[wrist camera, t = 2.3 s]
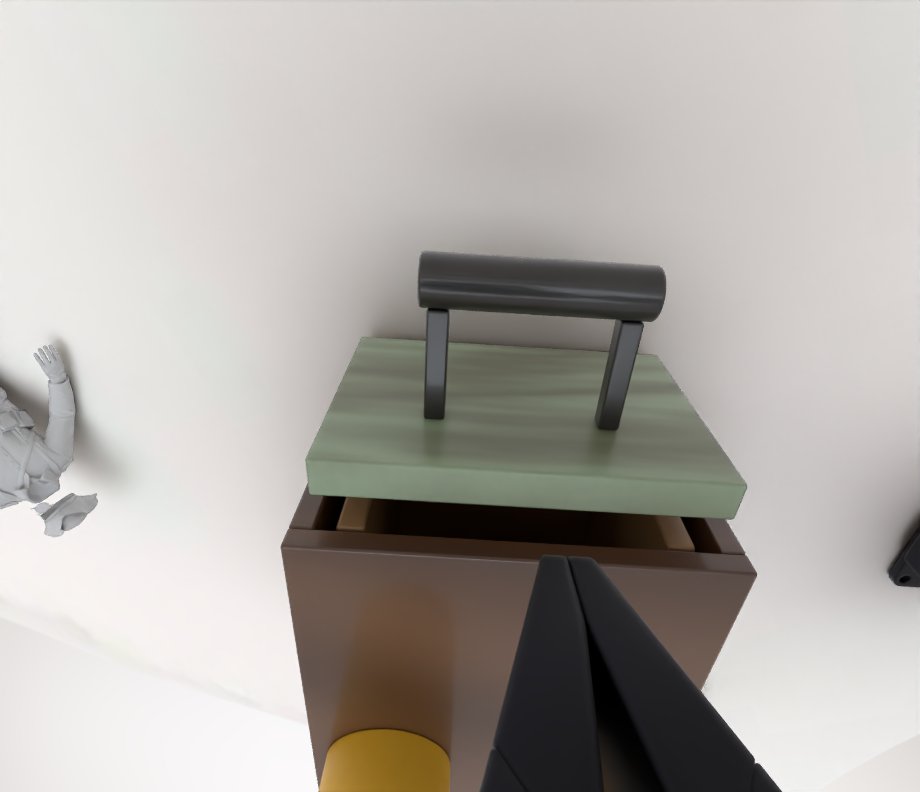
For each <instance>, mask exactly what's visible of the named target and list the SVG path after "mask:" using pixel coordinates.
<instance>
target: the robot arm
mask: <svg viewBox="0 0 920 792" xmlns="http://www.w3.org/2000/svg"><path fill="white" fill-rule="evenodd" d="M889 578H890V579H891V580H892V581H893V582H894V583H895V584H896V585H898V586H907V587H920V527H919V529H918V530H917V532H916V533H915V535H914V536H913V538H912V539H911V541H910V542H909V544H908V545H907V547H906V548H905V550H904V551H903V553H902V554H901V556H900V557H899V559H898V560H897V562H896V563H895V565H894V566H893V568H892V569H891V571H890V572H889ZM754 763H755V759H754V757H753V755H752V754H751V753H750V752H749V751H748V749H747V748H746V747H745V746H744V744H743V743H742V742H741V741H740V739H739V738H738V737H737V736H736V734H735V733H734V732H733V731H732V729H731V728H730V727H729V726H728V725H727V723H726V722H725V721H724V720H723V718H722V717H721V716H720V715H719V713H718V712H717V711H716V710H715V708H714V707H713V706H712V705H711V703H710V702H709V701H708V700H707V699H706V697H705V696H704V695H703V694H702V692H701V691H700V690H699V689H698V687H697V686H696V685H695V684H694V682H693V681H692V680H691V679H690V677H689V676H688V675H687V674H686V672H685V671H684V670H683V669H682V668H681V666H680V665H679V664H678V663H677V661H676V660H675V659H674V658H673V656H672V655H671V654H670V653H669V651H668V650H667V649H666V648H665V646H664V645H663V644H662V643H661V642H660V640H659V639H658V638H657V637H656V635H655V634H654V633H653V632H652V630H651V629H650V628H649V627H648V625H647V624H646V623H645V622H644V620H643V619H642V618H641V617H640V616H639V614H638V613H637V612H636V611H635V609H634V608H633V607H632V606H631V604H630V603H629V602H628V601H627V599H626V598H625V597H624V596H623V594H622V593H621V592H620V591H619V590H618V588H617V587H616V586H615V585H614V583H613V582H612V581H611V580H610V578H609V577H608V576H607V575H606V573H605V572H604V571H603V570H602V568H601V567H600V566H599V565H598V564H597V562H596V561H595V560H594V559H592V558H590V557H577V556H570V557H568V558H566V557H564V556H559V555H543V556H542V557H541V559H540V562H539V566H538V570H537V574H536V578H535V582H534V586H533V589H532V593H531V597H530V601H529V605H528V609H527V612H526V616H525V620H524V624H523V628H522V632H521V636H520V639H519V643H518V647H517V651H516V655H515V659H514V662H513V666H512V670H511V674H510V678H509V682H508V686H507V689H506V693H505V697H504V701H503V705H502V709H501V712H500V716H499V720H498V724H497V728H496V732H495V736H494V739H493V743H492V749H491V751H490V754H489V757H488V761H487V765H486V769H485V773H484V777H483V780H482V784H481V787H480V791H479V792H782V791H781V790H780V789H779V787H778V786H777V785H776V784H775V782H774V781H773V780H772V779H771V777H770V776H769V775H768V774H767V772H766V771H765V770H764V769H763V767H762V766H761V765H760V764H758V763H755V764H754Z"/></svg>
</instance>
